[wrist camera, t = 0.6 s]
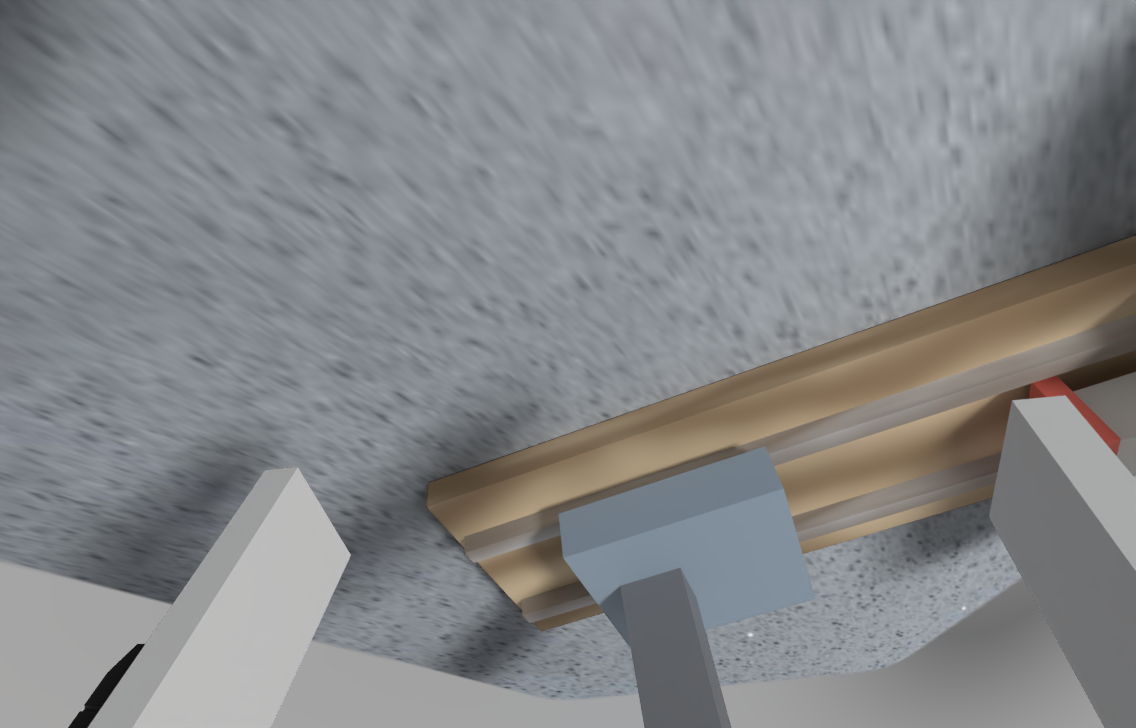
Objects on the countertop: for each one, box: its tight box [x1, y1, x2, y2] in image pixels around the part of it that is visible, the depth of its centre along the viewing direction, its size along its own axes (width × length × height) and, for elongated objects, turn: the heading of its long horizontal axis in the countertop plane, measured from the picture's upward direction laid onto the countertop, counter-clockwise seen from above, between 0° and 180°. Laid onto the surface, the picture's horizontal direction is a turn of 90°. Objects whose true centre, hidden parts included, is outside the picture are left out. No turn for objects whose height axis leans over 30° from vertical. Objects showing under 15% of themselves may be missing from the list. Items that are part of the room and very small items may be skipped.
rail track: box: [427, 235, 1136, 631], centre depth 29 cm, size 14×38×14 cm, turn 112°
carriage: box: [559, 446, 816, 728], centre depth 27 cm, size 10×10×16 cm
